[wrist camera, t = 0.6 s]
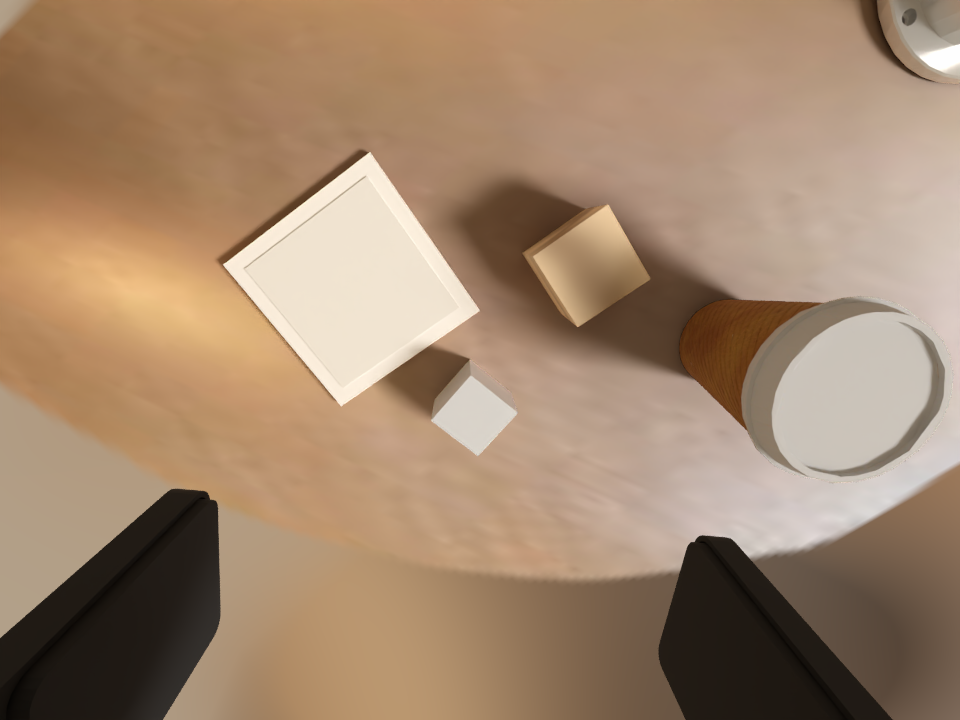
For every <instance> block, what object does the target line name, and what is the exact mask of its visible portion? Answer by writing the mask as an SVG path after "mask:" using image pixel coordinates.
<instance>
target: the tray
mask: <svg viewBox="0 0 960 720" xmlns="http://www.w3.org/2000/svg"><path fill="white" fill-rule="evenodd" d="M223 265H224V267H225V268H226V269H227V270H228V271H229V273H230V274H231V275H232V276H233V277H234V279H235V280H236V281H237V282H238V283H239V285H240V286H241V287H242V288H243V289H244V291H245V292H246V293H247V294H248V295H249V297H250V298H251V299H252V300H253V301H254V303H255V304H256V305H257V306H258V307H259V309H260V310H261V311H262V312H263V313H264V315H265V316H266V317H267V318H268V319H269V321H270V322H271V323H272V324H273V325H274V327H275V328H276V329H277V330H278V331H279V332H280V334H281V335H282V336H283V337H284V338H285V340H286V341H287V342H288V343H289V344H290V346H291V347H292V348H293V349H294V350H295V352H296V353H297V354H298V355H299V356H300V358H301V359H302V360H303V361H304V362H305V364H306V365H307V366H308V367H309V368H310V370H311V371H312V372H313V373H314V374H315V376H316V377H317V378H318V379H319V380H320V382H321V383H322V384H323V385H324V386H325V388H326V389H327V390H328V391H329V392H330V394H331V395H332V396H333V397H334V398H335V399H336V401H337V402H338V403H339V404H340V405H341V406H342V405H344V404H345V403H347V402H348V401H349V400H351V399H352V398H354V397H355V396H357V395H358V394H360V393H361V392H362V391H364V390H365V389H367V388H368V387H370V386H371V385H373V384H374V383H376V382H377V381H378V380H380V379H381V378H383V377H384V376H386V375H387V374H389V373H390V372H392V371H393V370H394V369H396V368H397V367H399V366H400V365H402V364H403V363H405V362H406V361H408V360H409V359H410V358H412V357H413V356H415V355H416V354H418V353H419V352H421V351H422V350H424V349H425V348H426V347H428V346H429V345H431V344H432V343H434V342H435V341H437V340H438V339H440V338H441V337H442V336H444V335H445V334H447V333H448V332H450V331H451V330H453V329H454V328H455V327H457V326H458V325H460V324H461V323H463V322H464V321H466V320H467V319H469V318H470V317H471V316H473V315H474V314H476V313H477V312H479V311H480V309H479V308H478V306H477V305H476V303H475V302H474V301H473V299H472V298H471V296H470V295H469V293H468V292H467V290H466V289H465V288H464V286H463V285H462V283H461V282H460V280H459V279H458V277H457V276H456V275H455V273H454V272H453V270H452V269H451V267H450V266H449V265H448V263H447V262H446V260H445V259H444V257H443V256H442V254H441V253H440V252H439V250H438V249H437V247H436V246H435V244H434V243H433V241H432V240H431V239H430V237H429V236H428V234H427V233H426V231H425V230H424V228H423V227H422V226H421V224H420V223H419V221H418V220H417V218H416V217H415V216H414V214H413V213H412V211H411V210H410V208H409V207H408V205H407V204H406V203H405V201H404V200H403V198H402V197H401V195H400V194H399V192H398V191H397V190H396V188H395V187H394V185H393V184H392V182H391V181H390V180H389V178H388V177H387V175H386V174H385V172H384V171H383V169H382V168H381V167H380V165H379V164H378V162H377V161H376V159H375V158H374V156H373V155H372V154H371V153H370V152H369V153H368V154H367V155H366V156H364V157H363V158H362V159H360V160H359V161H358V162H356V163H355V164H354V165H352V166H351V167H350V168H349V169H347V170H346V171H345V172H343V173H342V174H341V175H339V176H338V177H337V178H336V179H334V180H333V181H332V182H330V183H329V184H328V185H326V186H325V187H324V188H323V189H321V190H320V191H319V192H317V193H316V194H315V195H313V196H312V197H311V198H309V199H308V200H307V201H306V202H304V203H303V204H302V205H300V206H299V207H298V208H296V209H295V210H294V211H293V212H291V213H290V214H289V215H287V216H286V217H285V218H283V219H282V220H281V221H280V222H278V223H277V224H276V225H274V226H273V227H272V228H270V229H269V230H268V231H266V232H265V233H264V234H263V235H261V236H260V237H259V238H257V239H256V240H255V241H253V242H252V243H251V244H250V245H248V246H247V247H246V248H244V249H243V250H242V251H240V252H239V253H238V254H237V255H235V256H234V257H233V258H231V259H230V260H229V261H227V262H226V263H225V264H223Z"/></svg>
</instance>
